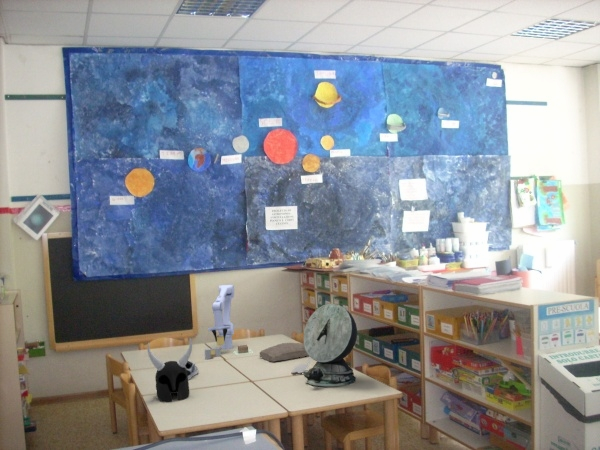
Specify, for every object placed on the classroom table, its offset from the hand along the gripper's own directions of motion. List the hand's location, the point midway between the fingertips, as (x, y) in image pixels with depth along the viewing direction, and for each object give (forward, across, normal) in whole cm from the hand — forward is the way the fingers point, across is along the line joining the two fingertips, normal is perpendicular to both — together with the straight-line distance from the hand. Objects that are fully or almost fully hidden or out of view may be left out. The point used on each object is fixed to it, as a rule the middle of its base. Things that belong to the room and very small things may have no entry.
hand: (220, 340), depth 406 cm
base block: (+8, +14, -4) cm, 17 cm away
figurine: (+9, +38, -72) cm, 82 cm away
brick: (+2, 0, 0) cm, 2 cm away
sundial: (+9, +46, -97) cm, 108 cm away
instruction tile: (+9, -6, -8) cm, 13 cm away
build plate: (+9, +14, -4) cm, 17 cm away
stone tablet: (+10, +38, -28) cm, 48 cm away
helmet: (+9, -34, -85) cm, 92 cm away
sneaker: (+9, -24, -48) cm, 55 cm away
